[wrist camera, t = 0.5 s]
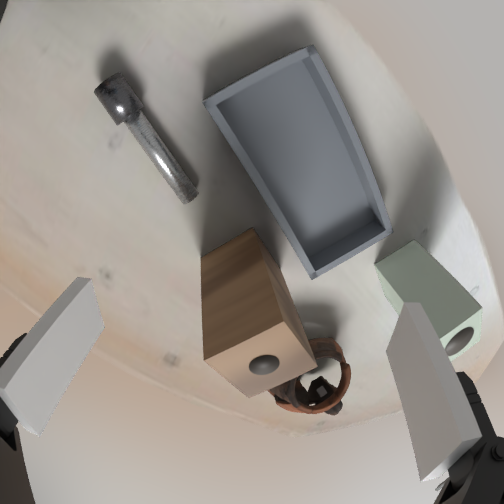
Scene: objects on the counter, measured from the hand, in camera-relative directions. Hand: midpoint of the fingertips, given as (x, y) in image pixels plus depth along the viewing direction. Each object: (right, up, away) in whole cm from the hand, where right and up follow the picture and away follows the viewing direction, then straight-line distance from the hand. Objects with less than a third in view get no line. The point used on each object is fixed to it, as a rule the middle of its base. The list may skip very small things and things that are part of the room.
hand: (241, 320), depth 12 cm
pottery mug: (+6, -10, +23) cm, 26 cm away
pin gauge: (-7, +11, +8) cm, 15 cm away
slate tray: (+4, +9, +11) cm, 15 cm away
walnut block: (0, +2, +15) cm, 15 cm away
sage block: (+16, +1, +18) cm, 24 cm away
